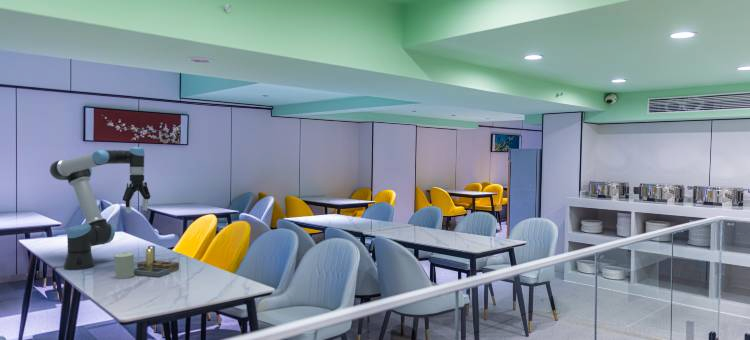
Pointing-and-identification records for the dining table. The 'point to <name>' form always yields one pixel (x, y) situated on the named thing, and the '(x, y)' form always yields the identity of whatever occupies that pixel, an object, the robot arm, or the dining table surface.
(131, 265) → the can
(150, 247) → the steel pin
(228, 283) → the dining table surface
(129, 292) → the dining table surface
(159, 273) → the tray
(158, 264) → the block
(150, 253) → the brass pin
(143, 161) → the robot arm
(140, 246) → the dining table surface
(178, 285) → the dining table surface
